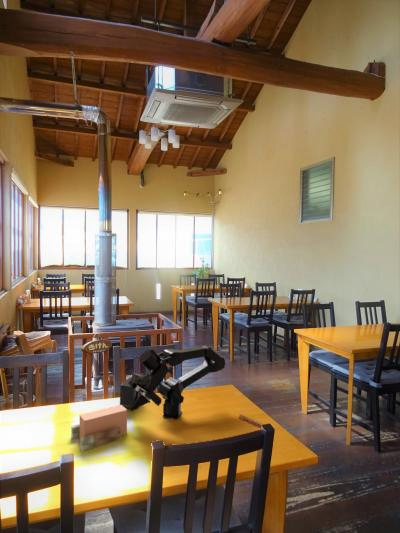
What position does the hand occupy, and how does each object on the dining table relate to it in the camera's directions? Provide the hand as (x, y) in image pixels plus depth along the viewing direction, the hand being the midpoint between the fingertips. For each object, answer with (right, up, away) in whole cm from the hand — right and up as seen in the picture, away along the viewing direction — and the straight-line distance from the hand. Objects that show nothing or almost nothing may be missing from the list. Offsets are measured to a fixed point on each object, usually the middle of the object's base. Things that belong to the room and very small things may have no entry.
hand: (130, 410), depth 141 cm
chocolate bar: (+48, -8, +6) cm, 49 cm away
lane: (-11, -7, -8) cm, 15 cm away
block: (-9, -7, -6) cm, 13 cm away
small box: (-4, -6, +21) cm, 23 cm away
